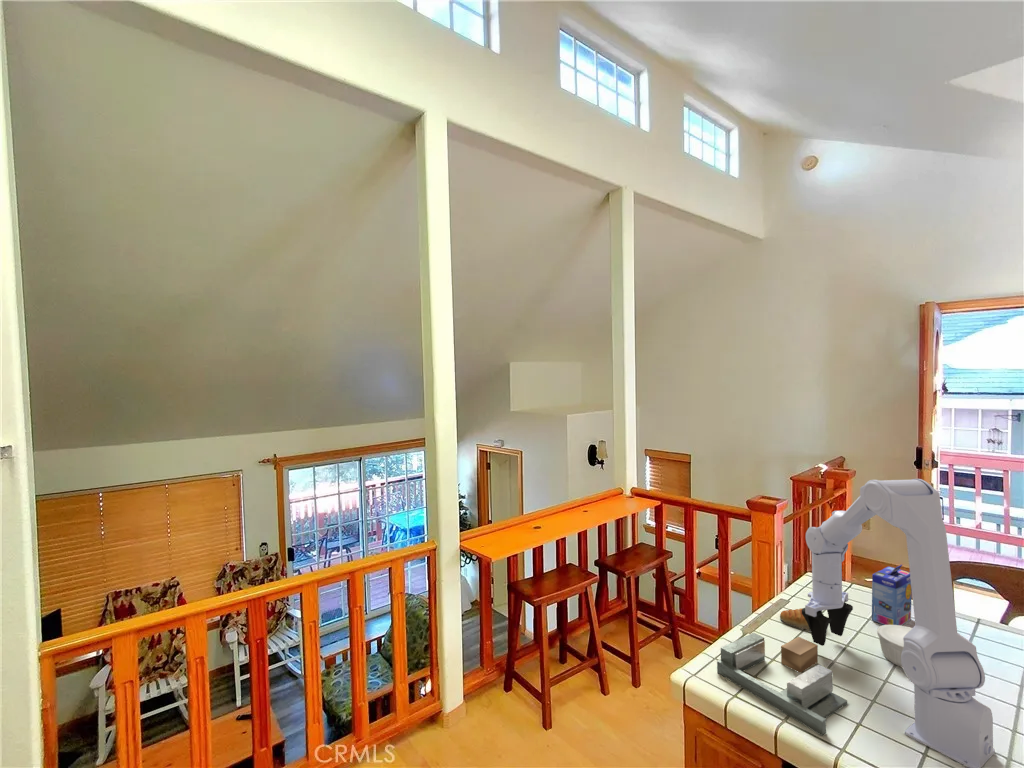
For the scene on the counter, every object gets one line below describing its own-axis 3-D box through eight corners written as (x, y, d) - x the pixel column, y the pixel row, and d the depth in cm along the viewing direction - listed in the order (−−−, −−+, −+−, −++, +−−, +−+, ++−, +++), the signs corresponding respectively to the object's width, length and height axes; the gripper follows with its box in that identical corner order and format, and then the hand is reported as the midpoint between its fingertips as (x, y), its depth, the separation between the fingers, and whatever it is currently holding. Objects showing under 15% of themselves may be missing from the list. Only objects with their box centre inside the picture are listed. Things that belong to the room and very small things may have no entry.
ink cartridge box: (897, 631, 116) (896, 571, 116) (870, 621, 120) (869, 564, 120) (913, 619, 121) (912, 563, 121) (887, 611, 126) (886, 556, 125)
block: (817, 663, 104) (817, 645, 104) (800, 673, 100) (799, 654, 100) (798, 654, 107) (798, 636, 107) (781, 664, 103) (781, 646, 103)
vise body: (859, 709, 89) (858, 683, 89) (822, 735, 82) (822, 707, 82) (754, 654, 107) (753, 632, 107) (717, 672, 101) (716, 649, 101)
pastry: (781, 627, 119) (781, 612, 119) (778, 615, 125) (778, 600, 125) (825, 634, 115) (825, 618, 115) (819, 621, 121) (819, 606, 122)
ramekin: (958, 680, 97) (958, 654, 97) (896, 674, 99) (895, 649, 99) (923, 649, 108) (922, 626, 108) (867, 644, 110) (867, 622, 110)
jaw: (832, 691, 92) (832, 670, 92) (802, 710, 87) (801, 689, 87) (817, 683, 95) (816, 663, 95) (786, 701, 90) (785, 680, 90)
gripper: (825, 567, 116) (826, 622, 116) (791, 580, 109) (792, 639, 109) (857, 577, 110) (858, 635, 110) (823, 592, 103) (824, 654, 103)
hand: (827, 638), depth 109 cm, fingers open, 7 cm apart
